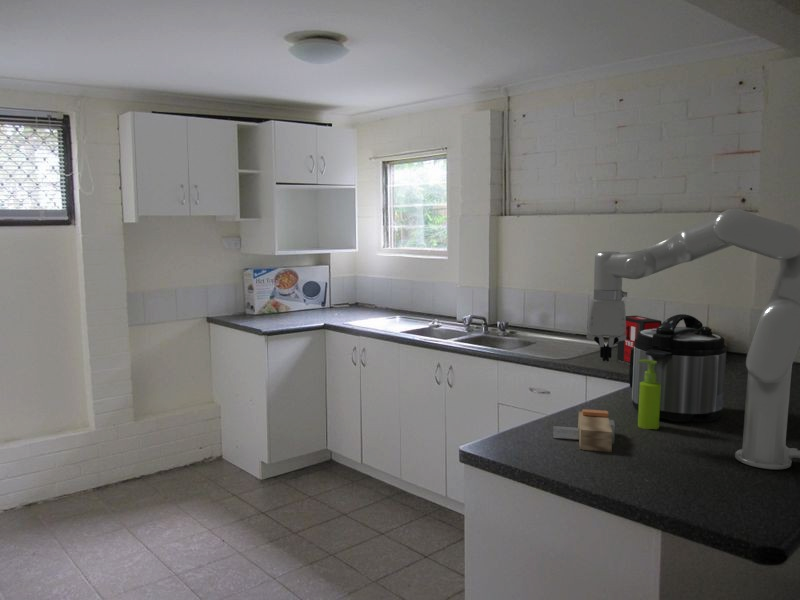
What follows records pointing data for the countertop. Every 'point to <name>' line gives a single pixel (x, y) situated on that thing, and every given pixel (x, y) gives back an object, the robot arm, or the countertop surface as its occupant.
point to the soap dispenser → (649, 398)
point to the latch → (595, 413)
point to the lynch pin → (575, 432)
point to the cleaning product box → (634, 334)
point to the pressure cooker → (682, 368)
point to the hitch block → (594, 433)
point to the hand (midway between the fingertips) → (605, 360)
